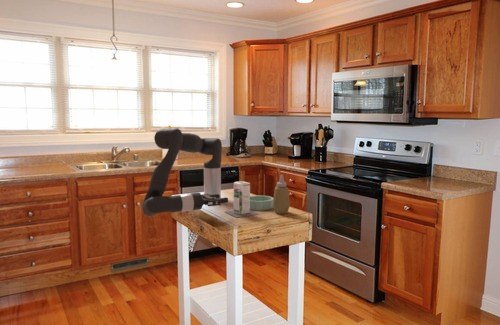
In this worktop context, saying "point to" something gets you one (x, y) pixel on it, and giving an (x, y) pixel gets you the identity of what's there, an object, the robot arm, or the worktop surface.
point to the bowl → (261, 202)
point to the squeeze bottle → (281, 197)
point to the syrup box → (241, 197)
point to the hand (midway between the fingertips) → (223, 198)
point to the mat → (241, 214)
